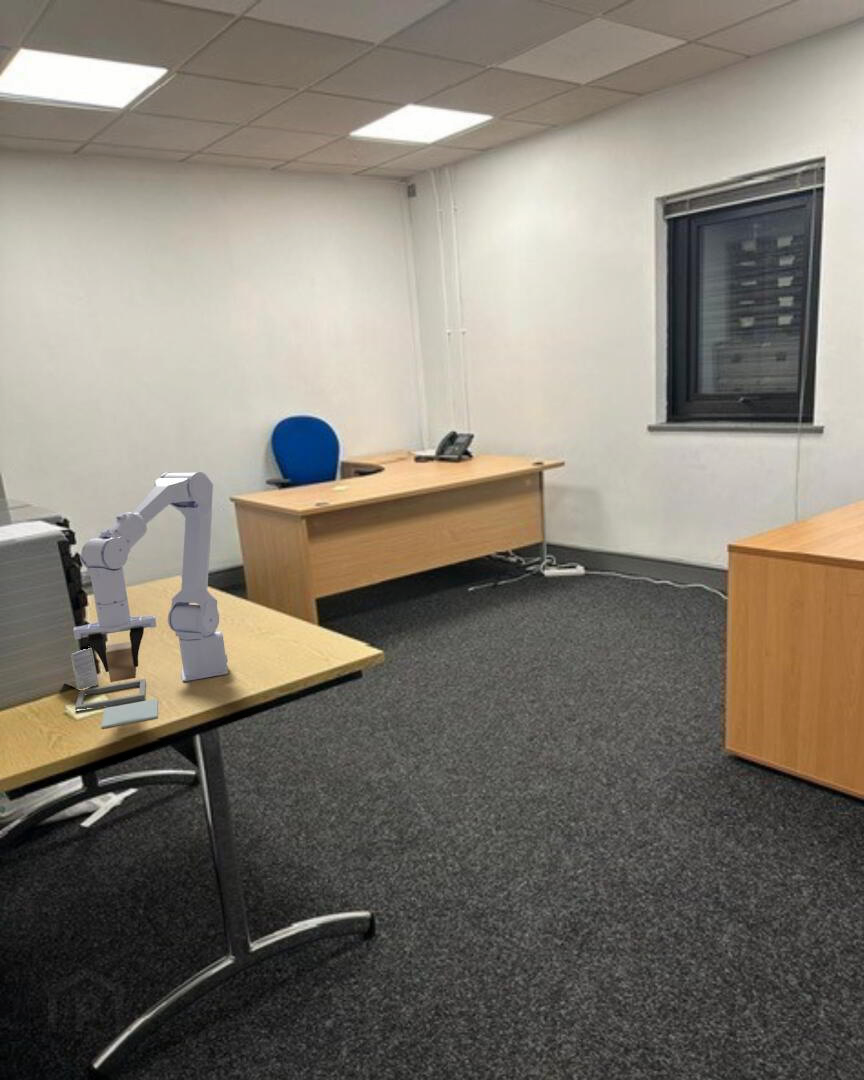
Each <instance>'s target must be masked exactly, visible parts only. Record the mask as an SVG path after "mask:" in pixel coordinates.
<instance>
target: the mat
mask: <svg viewBox="0 0 864 1080" xmlns="http://www.w3.org/2000/svg"><path fill="white" fill-rule="evenodd" d="M158 709H159V699H158V698H154V699H148V700H140V701H135V702H129V703H124V704H119V705H113V706H108V707H104V710H103V711H104V712H103V715H102V722H101V729H106V727H107V728H109V727H117V726H121V725H126V724H127V725H128V724H131V723H137V722H142V721H143V722H144V721H147V720H152V719H158V718H159V712H158V711H159V710H158Z"/></svg>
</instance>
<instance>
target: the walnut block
mask: <svg viewBox="0 0 864 1080" xmlns="http://www.w3.org/2000/svg"><path fill="white" fill-rule="evenodd" d="M106 658H107V664H108V670H109V672H108V676H109V682H110V683H114V682H120V681H126V680H131V679H136V677H137V667H134V663H133V651H132V646H131V641H126V642H120V643H112V644H108V645H107V644H106Z"/></svg>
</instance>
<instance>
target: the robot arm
mask: <svg viewBox="0 0 864 1080" xmlns="http://www.w3.org/2000/svg"><path fill="white" fill-rule="evenodd" d="M161 474H162V475H160V476H159V478H157V479H156V480H155V481H154V487H153V489H152V490H151V491H149V493H148V494H147V495H146V496H145V498H143V500H142V501H141V502H140V503H139V504H138V505H137V507H136V508H135V509H134V510H133V511H132V512H131V511H125V512H123V513H118V514H117V515H116V516H115V518H116V519H115V521H114V522H112V523H111V524H110V525H109V526H108V527H107V528H106V529H103V530H102V531H101V532H100V535H99V536H98V537H97V538H96V537H94V538H91V539H89V540H87V541H86V542H85V543H84V544H83V546H82V549H81V555H80V556H79V559H80V562H81V564H82V566H84V567H85V568H86V570H87V575H88V576H89V577H90V580H91V586H92V592H93V599H94V603H95V604H94V605H95V609H96V616H97V621H98V622H97V621H96V622H93V623H88V624H84V625H80V626H74V627H73V635H74V636H73V637H74V640H81V639H82V638H88V644H89V647H90V648H92V650H94V651H95V653H96V654H97V656H98V658H99V659H100V661H101V663H102V665H103V668H104V670H105V673H109V670H108V664H107V658H106V649H107V642H106V641H107V640H106V635H107V634H108V635H109V634H115V633H120V632H121V633H122V632H126V631H127V632H128V631H129V640H130V641H129V642H131V646H132V651H133V663H134V667H136V668H138V667H139V652H140V647H141V643H142V639H143V638H144V633H145V628H147V629H148V628H150V629H151V628H152V629H154V628H157V620H156V615H155V614H154V615H142V616H131V613H130V612H131V611H130V607H129V600H128V595H127V594H128V593H127V588H126V587H127V586H126V581H125V573H124V569H123V568H124V567H123V566H125V565H126V564H127V561H128V557H129V554H130V552H131V549H132V548H133V547H134V546H135V545H136V544H137V543H138V542H139V541H140V540H141V539H142V537H144V536H145V535H146V533H147V532H148V527H147V525H148V524H149V523H150V522H151V521H152V520H153V519H154V518H155V517H157V516H158V514H160V513H161V512H163V510H165V509H166V508H167V507H168V506H169V505H170V506H172V507H173V508H174V509H175V510H177V511H179V512H180V513H181V514H182V515H183V517H184V518H185V521H184V524H185V525H184V538H183V552H182V553H183V557H182V573H181V585H180V586H181V589H180V591H178V592H177V593H176V594H175V595H174V596H173V597H172V598H171V605H170V609H169V611H168V614H167V624H168V627H169V629H170V630H172V631H173V632H174V633H175V637H178V642H179V649H180V657H181V663H182V668H181V680H182V682H188V681H189V682H190V681H195V680H200V679H205V678H210V677H217V676H222V675H227V674H228V673H229V671H228V664H227V663H228V662H229V661H228V655H227V654H226V648H225V641H224V636H223V631H222V630H217V629H218V627H219V622H220V613H219V610H218V599H217V598H215V597H214V595H212V594H211V592H209V591H208V589H209V587H208V584H209V568H210V567H209V566H210V551H211V536H212V535H211V533H212V519H213V516H212V515H213V513H212V512H213V509H212V506H213V490H214V489H213V488H214V484H213V482H212V481H211V480H210V478H209V477H208V475H207V474H206V473H204V472H203V471H196V472H169V471H168V472H164V473H161Z"/></svg>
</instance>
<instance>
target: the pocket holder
mask: <svg viewBox="0 0 864 1080" xmlns="http://www.w3.org/2000/svg"><path fill="white" fill-rule="evenodd" d="M136 687H139V690H138V691H139V692H138V694H133V695H127V696H121V697H116V698H111V699H110V698H109V699H105V700H98V701H94V702H87V703H83V701H84V702H85V699H84V698H86V696H85V694H92V695H96V693H97V694H102V693H108V692H113V691H118V690H124V689H125V690H126V689H130V688H131V689H132V688H136ZM146 690H147V682H146V678H143V679H138V680H136V679H135V680H131V681H126V682H119V683H114V684H109V685H103V686H95V687H92V688H89V689H85V690H80V691H78V692H79V693H78V696H77V699H76V703H75V706H74V709H75V711H76V710H77V709H87V708H96V709H99V708H98V707H102V708H105V707H104V706H107V707H114V706H119V705H124V704H130V703H135V702H141V701H146Z"/></svg>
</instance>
